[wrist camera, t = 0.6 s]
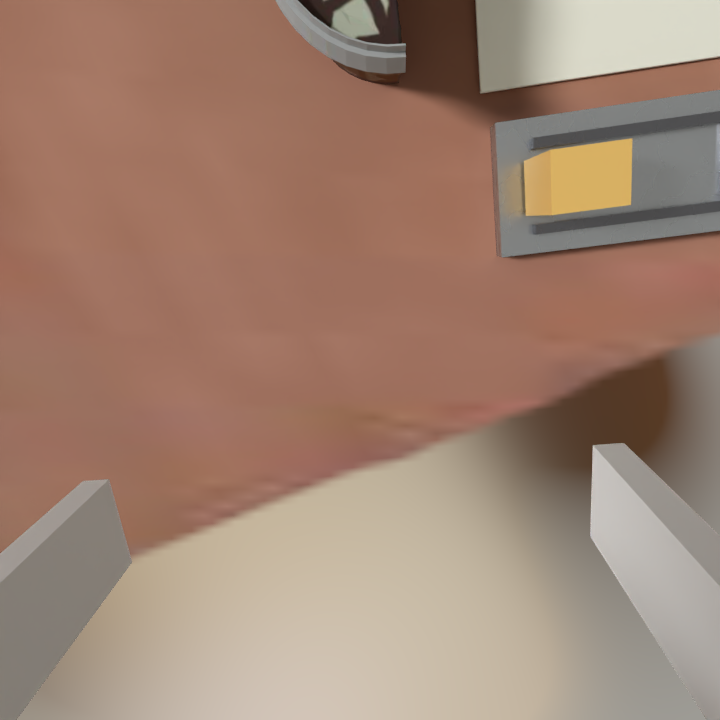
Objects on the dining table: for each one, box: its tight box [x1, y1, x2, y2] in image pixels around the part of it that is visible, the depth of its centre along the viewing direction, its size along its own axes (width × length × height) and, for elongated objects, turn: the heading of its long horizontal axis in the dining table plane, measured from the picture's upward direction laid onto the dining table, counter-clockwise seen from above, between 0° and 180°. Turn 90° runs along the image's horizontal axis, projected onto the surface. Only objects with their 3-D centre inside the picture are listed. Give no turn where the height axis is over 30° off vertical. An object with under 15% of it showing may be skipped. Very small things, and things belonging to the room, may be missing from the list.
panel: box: [490, 90, 720, 257], centre depth 30 cm, size 8×15×2 cm, turn 97°
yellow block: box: [524, 138, 632, 216], centre depth 27 cm, size 3×4×5 cm
